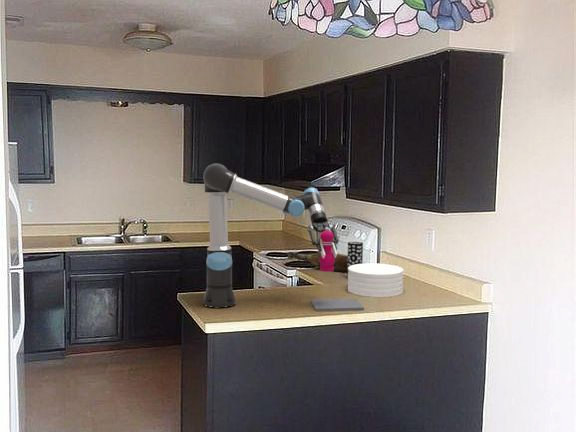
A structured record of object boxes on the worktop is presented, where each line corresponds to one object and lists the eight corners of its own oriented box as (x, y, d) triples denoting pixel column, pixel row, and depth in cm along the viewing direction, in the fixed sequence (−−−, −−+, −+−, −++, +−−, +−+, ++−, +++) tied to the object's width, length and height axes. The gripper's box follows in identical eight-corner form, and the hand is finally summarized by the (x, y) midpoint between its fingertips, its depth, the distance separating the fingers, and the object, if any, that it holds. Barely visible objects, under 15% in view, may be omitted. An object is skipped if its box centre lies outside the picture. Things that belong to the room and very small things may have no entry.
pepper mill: (322, 272, 275) (322, 228, 273) (317, 269, 282) (316, 226, 280) (337, 271, 277) (337, 227, 275) (331, 268, 284) (331, 225, 282)
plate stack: (346, 295, 302) (347, 273, 300) (348, 283, 329) (349, 262, 328) (403, 298, 298) (404, 275, 296) (401, 285, 325) (402, 264, 324)
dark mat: (315, 311, 273) (315, 308, 273) (310, 301, 289) (310, 299, 289) (363, 310, 275) (363, 307, 275) (356, 301, 291) (356, 298, 291)
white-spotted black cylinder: (360, 280, 335) (361, 244, 333) (345, 279, 338) (346, 243, 336) (363, 277, 343) (364, 242, 341) (349, 276, 346) (349, 241, 343)
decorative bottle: (358, 265, 361) (292, 256, 384) (355, 251, 356) (289, 243, 378) (352, 277, 354) (285, 267, 376) (348, 263, 348) (281, 254, 370)
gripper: (333, 219, 294) (346, 259, 281) (298, 221, 289) (309, 262, 276) (337, 210, 289) (350, 250, 275) (301, 211, 284) (312, 252, 270)
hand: (329, 256), depth 275 cm, fingers closed on pepper mill, 5 cm apart
